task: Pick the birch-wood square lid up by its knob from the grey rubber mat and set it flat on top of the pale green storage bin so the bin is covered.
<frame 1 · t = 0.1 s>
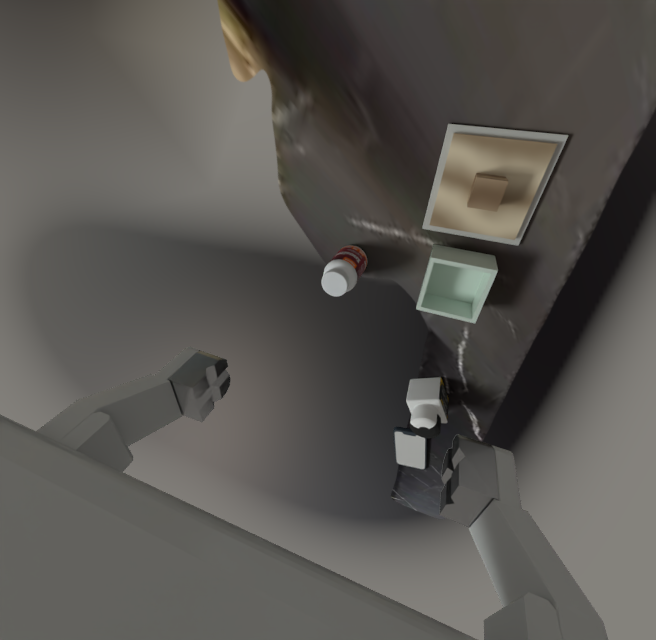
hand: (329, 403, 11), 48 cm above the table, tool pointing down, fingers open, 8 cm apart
pill bottle: (352, 258, 60), on the table
mat: (485, 187, 46), on the table
pale green storage bin: (454, 275, 55), on the table
medicine bottle: (429, 388, 72), on the table
phone case: (410, 445, 86), on the table
lid: (485, 188, 46), point 1 cm above the table, touching mat
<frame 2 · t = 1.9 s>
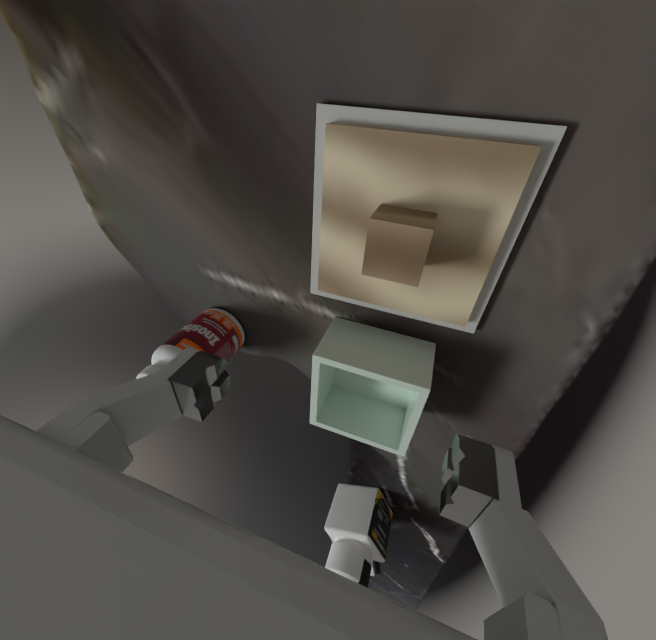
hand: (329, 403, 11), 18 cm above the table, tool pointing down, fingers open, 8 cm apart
pill bottle: (225, 326, 38), on the table
mat: (405, 229, 24), on the table
pale green storage bin: (375, 365, 33), on the table
medicine bottle: (366, 496, 50), on the table
lid: (404, 232, 23), point 1 cm above the table, touching mat
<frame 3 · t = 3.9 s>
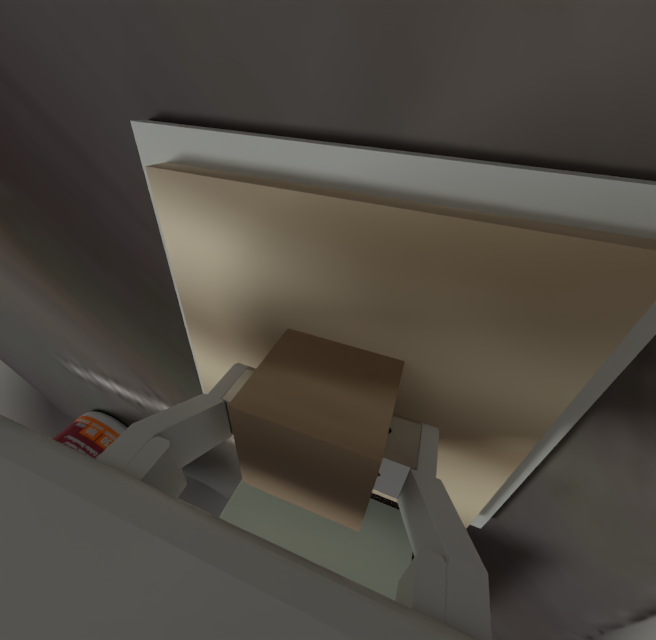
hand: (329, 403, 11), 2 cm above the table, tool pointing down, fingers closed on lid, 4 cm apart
pill bottle: (120, 431, 26), on the table
mat: (349, 360, 12), on the table
pale green storage bin: (326, 518, 21), on the table
lid: (344, 370, 12), point 1 cm above the table, touching gripper, mat
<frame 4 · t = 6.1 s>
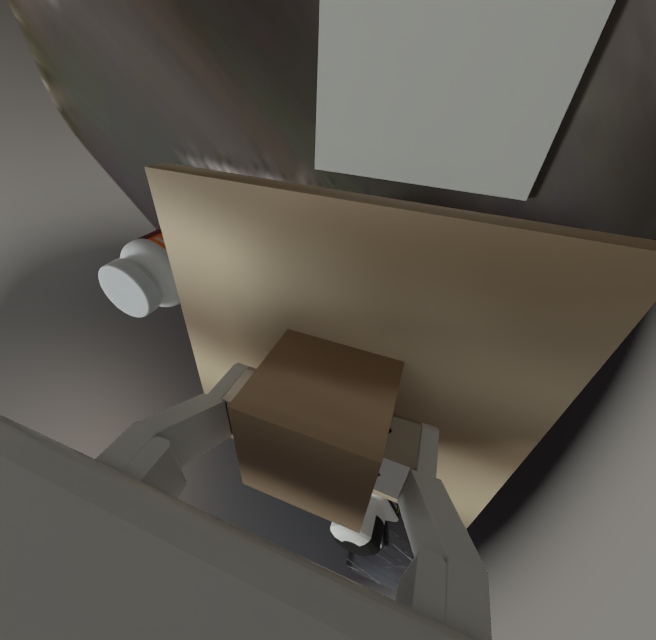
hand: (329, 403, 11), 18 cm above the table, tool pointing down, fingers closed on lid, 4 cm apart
pill bottle: (213, 240, 32), on the table
mat: (443, 44, 18), on the table
medicine bottle: (375, 452, 44), on the table
lid: (344, 371, 12), point 17 cm above the table, touching gripper
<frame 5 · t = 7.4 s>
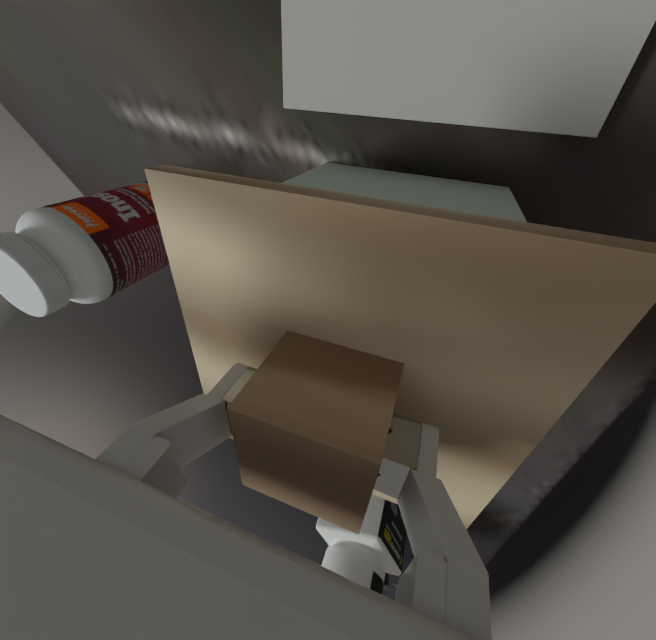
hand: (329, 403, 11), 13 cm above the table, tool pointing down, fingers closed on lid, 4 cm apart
pill bottle: (164, 220, 25), on the table
pale green storage bin: (394, 256, 20), on the table
medicine bottle: (373, 483, 37), on the table
lid: (344, 372, 12), point 11 cm above the table, touching gripper
when the fingers open (9 cm above the table, at t = 8.3 s): lid drops 1 cm, resting on pale green storage bin.
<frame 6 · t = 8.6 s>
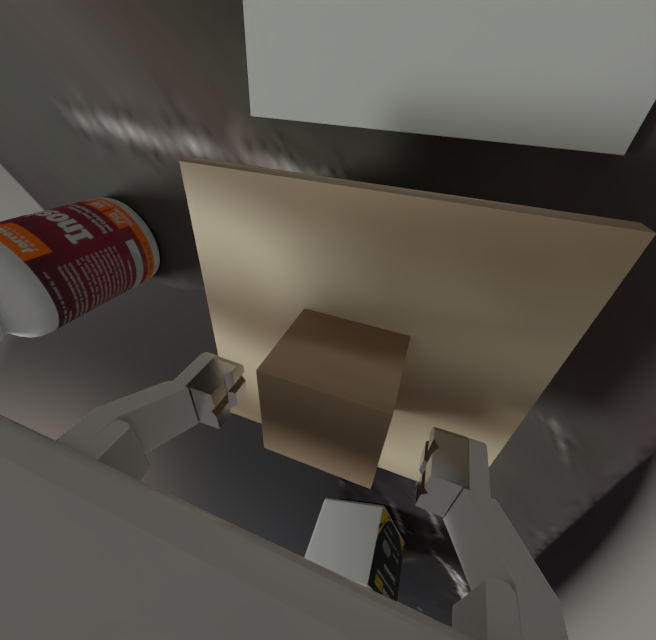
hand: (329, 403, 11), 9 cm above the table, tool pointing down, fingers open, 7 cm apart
pill bottle: (130, 238, 23), on the table
medicine bottle: (365, 516, 34), on the table
lid: (354, 349, 13), point 6 cm above the table, touching pale green storage bin
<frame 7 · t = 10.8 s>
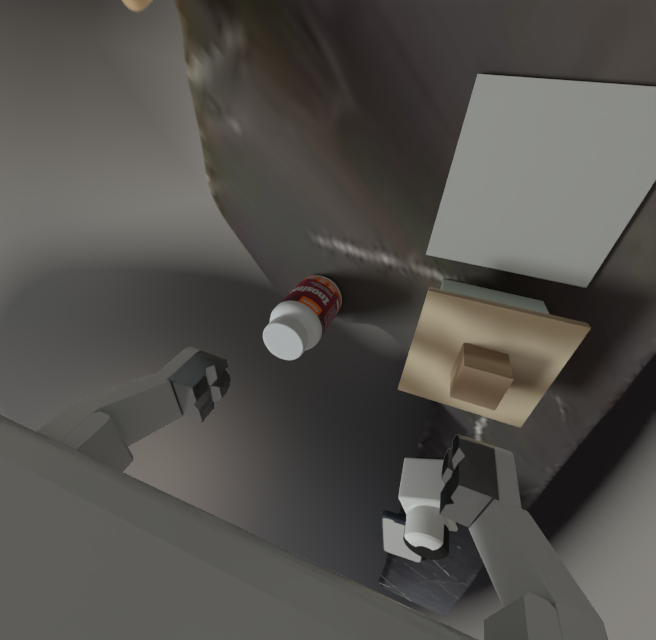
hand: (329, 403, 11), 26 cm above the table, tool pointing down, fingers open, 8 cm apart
pill bottle: (321, 294, 41), on the table
mat: (535, 189, 27), on the table
pale green storage bin: (474, 327, 35), on the table
medicine bottle: (431, 470, 51), on the table
phone case: (403, 532, 65), on the table
lid: (477, 359, 31), point 6 cm above the table, touching pale green storage bin
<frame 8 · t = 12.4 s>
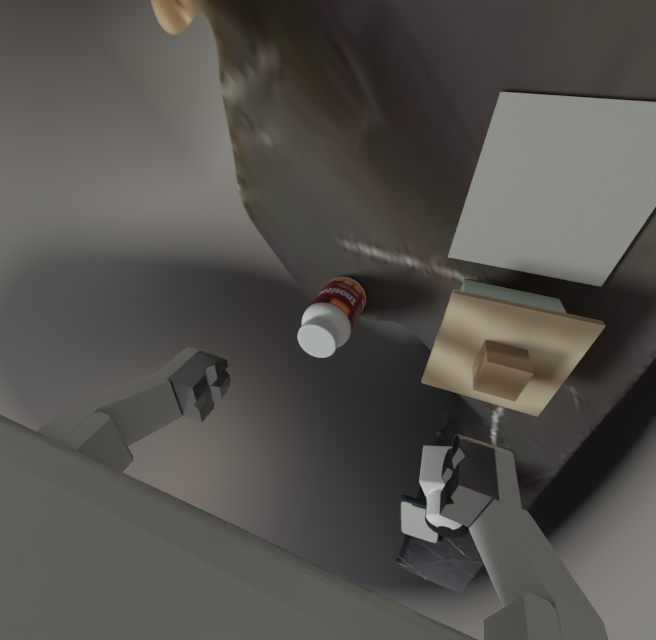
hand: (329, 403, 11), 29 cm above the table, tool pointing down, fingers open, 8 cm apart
pill bottle: (345, 294, 43), on the table
mat: (554, 196, 29), on the table
pale green storage bin: (493, 323, 38), on the table
medicine bottle: (448, 457, 54), on the table
phone case: (420, 515, 69), on the table
lid: (497, 354, 33), point 6 cm above the table, touching pale green storage bin
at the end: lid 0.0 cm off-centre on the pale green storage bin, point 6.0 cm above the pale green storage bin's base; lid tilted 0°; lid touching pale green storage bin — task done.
